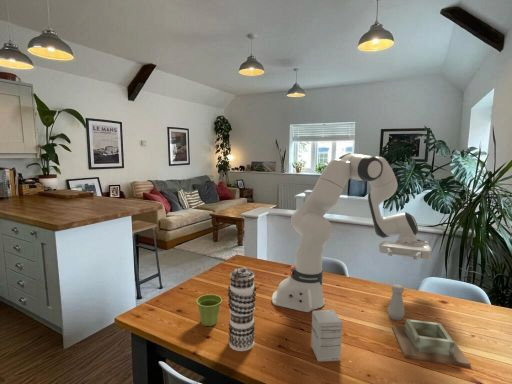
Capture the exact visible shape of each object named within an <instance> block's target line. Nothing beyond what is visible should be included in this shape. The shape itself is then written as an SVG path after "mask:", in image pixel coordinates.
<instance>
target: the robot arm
mask: <svg viewBox="0 0 512 384" xmlns="http://www.w3.org/2000/svg"><path fill="white" fill-rule="evenodd" d="M350 179H352V180H353V181H354V180H355V181H360V182H361V181H363V182H368V183H369V186H370V191H369V192H368V194H367V200H368V206H369V210H370V214H371V218H372V223H373V230H374V232H375V234H376V235H377V236H378V237H380V238H382V239H386V238H389V237H392V236H398V237H397V239H396V240H395V241H387V240H385V241H382V242H381V243H379V245H378V252H379V253H381V254H387V256H388V257H389V256H390V257H392V256H395V255H396V256H402V257H403V256H404V257H409V258H413V260H418V259H425V260H431V259H432V247H431V246H430V245H429V241H427V240H423V239H419V236H418V231H419V227H418V223H417V221H416V219H415V217H414V216H413V215H412V214H410V213H409V212H407V211H405V212H400V213H396V214H392V215H387V216H382V214H381V209H380V205H381V204H382V203H383V202H384V201H386V200H389V199H390V198H391V197H393V196H394V194H395V193H396V192H397V190H398V188H399V187H398V181H397V176H395V171H393V169H392V167H391V165H390V164H389V162H388V160H387V159H386V158H385V157H382V156H373V155H366V154H362V153H345V154H342V155H341V156H339V157H338V158H334V159H331V160H330V161H329V162H328V163H327V165H326V166H325V168H324V169H323V171H322V172H321V174H320V176H319V177H318V179H317V182H316V183H315V185H314V187H313V189H312V191H311V193H310V194H309V196H308V197H307V198H306V200H305V201H303V204H302V205H301V206H300V207H299V208H298V209H297V210H296V211H294V212H292V215H291V217H290V224H291V226H292V228H293V230H294V231H295V232H296V233H298V234H299V235H300V242H299V246H298V248H297V249H296V251H295V266H294V265H291V266H290V275H289V276H288V277H287V278H285V279H283V280H282V281H281V282H280V283H279V284H278V287H277V289H276V290H275V291H273V293H272V296H271V302H272V304H273V305H274V306H278V307H282V308H286V309H291V310H296V311H300V312H305V313H310V312H312V311H315V310H317V309H320V308H322V307H323V306H324V305H325V299H324V294H323V282H324V281H323V280H324V273H323V254H324V249H325V246H326V244H327V242H328V241H329V240H330V239H331V237H332V235H333V231H334V230H333V229H334V228H333V225H332V223H331V222H330V221H329V220H328V219H327V218H326V217H324V216H325V215H326V214H327V213H328V212H329V211H330V210H332V209H333V208H334V207H335V206H336V205H337V203H338V201H339V199H340V197H341V195H342V193H343V191H344V189H345V187H346V184H347V182H349V180H350Z"/></svg>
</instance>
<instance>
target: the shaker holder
mask: <svg viewBox="0 0 512 384" xmlns="http://www.w3.org/2000/svg"><path fill="white" fill-rule="evenodd" d="M391 329H392V331H393V335H394V336H395V338H396V341H397V343H398V345H399V348H400V350H401V352H402V355H403V357H404V358H406V359H412V360H413V359H414V360H421V361H427V362H435V363H440V364H441V363H442V364H447V365H453V366H454V365H455V366H461V367H468V368H471V366H472V364H471V362H470V360H469V359H468V358H467V356H465V354H464V353H463V351H462V349H460V347H459V346H458V344H457V343H456V342H455V340H454V339H453V337H451V335H450V334H449V332H448V331H447V330H446V329H445V328H444V326H443V325H442V323H441V322H435V321H433V322H432V321H427V320H426V321H424V320H416V319H407V318H406V319H405V326H398V325H392V328H391Z"/></svg>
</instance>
